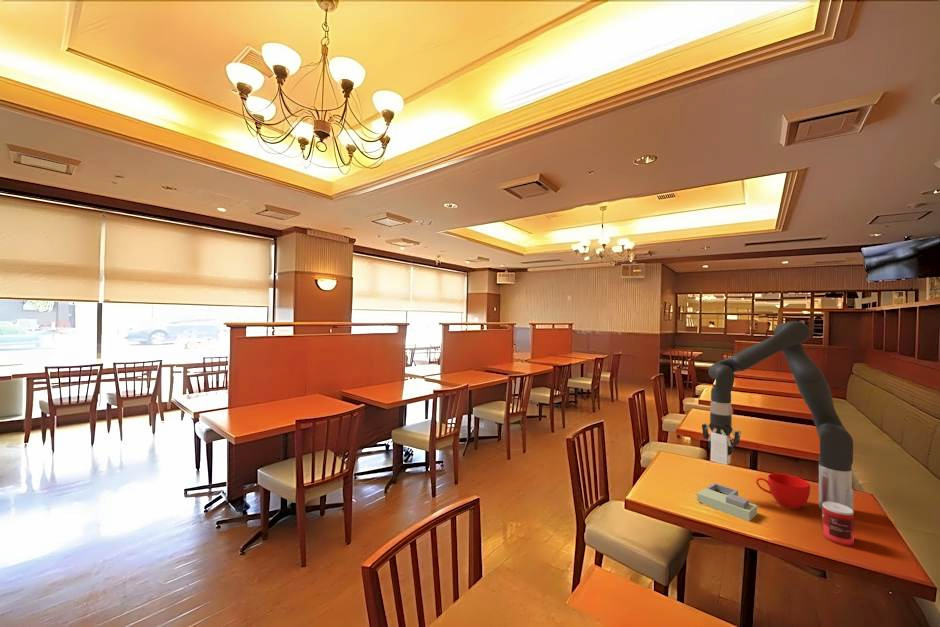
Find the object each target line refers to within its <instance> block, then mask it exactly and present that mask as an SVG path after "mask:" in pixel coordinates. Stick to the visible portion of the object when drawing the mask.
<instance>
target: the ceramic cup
mask: <svg viewBox="0 0 940 627" xmlns="http://www.w3.org/2000/svg"><path fill="white" fill-rule="evenodd" d="M759 481H763V482H765V483H766V484H767V485H768V488H769V490H768V489H765V488H764V487H762V486H761V485H760V484H759ZM755 482H756V485H757V487H758V488H759V489H760V490H762V491H764V492H765V493H768V494H770V495H771V496H772V497H773V498H774V500H775V501H776V502H777V503H778V505H779V506H782V507H784V508H787V509H791V510H798V509H800V508H802V507H803V506H804V505H805V504H806V503H807V502H808V500H809V498H810V494H811V484H810V483H809V482H808V481H807V480H806V479H803V478H800V477H798V476H795V475H790V474H785V473H779V472H778V473H776V472H773V473H770V474H768V475H767V479H766V478H764V477H757V479H756V480H755Z"/></svg>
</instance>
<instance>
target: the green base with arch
mask: <svg viewBox="0 0 940 627" xmlns="http://www.w3.org/2000/svg"><path fill="white" fill-rule="evenodd" d="M715 490H717V491H719V492H717V491H715ZM720 492H722V493H720ZM723 493H724V494H723ZM726 494H727V495H726ZM697 501H698V502H701V503H703V504H702V505H704V504H705V505H704V506H706V505H708V506H707V507H709V506H710V507H709V508H712V507H713V508H712V509H714V510H717V509H718V510H717V511H720V512H723V513H725V514H728V515H731V516H734V517H736V518H739V519H742V520H745V521H746V522H751V521H752V520H753V519H754V518H755V517H756V516H757V515H758V505H757V504H754V503H751V502H750V500H749V499H748V498H746V497H742V496H739V490H737V489H734V488H731V487H728V486H725V485H722V484H720V483H717V482H714V483H711V484H710V485H708V486H707V487H705V488H703V489H702V490H700V491H699V492H697V493H696V502H697ZM698 502H697V503H698ZM701 503H700V504H701Z"/></svg>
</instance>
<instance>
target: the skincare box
mask: <svg viewBox="0 0 940 627" xmlns="http://www.w3.org/2000/svg"><path fill="white" fill-rule="evenodd" d="M710 434H711V450H710V461H711V462H714V463H717V464H721V465H725V466H728V465H729V464H731V455H728V446H729V445H728V441H727V437H728V438H729V437H730V436H731V434H730V435H728V436H724V435H721V434H717V433H712V432H710Z"/></svg>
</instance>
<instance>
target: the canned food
mask: <svg viewBox="0 0 940 627" xmlns="http://www.w3.org/2000/svg"><path fill="white" fill-rule="evenodd" d="M821 520H822V521H821V524H822V525H821V526H822V527H821V529H822V530H821V532H822V535H823V537H824V538H825V539H826V540H827V541H830V542H831V543H834V544H836V545H840V546H844V547H850V546H853V545H854V542H855V540H854V538H855V514H854V509H853V510H852V509H851V508H849V507H847V506H845V505H842V504H839V503H835V502H823V504H822V510H821Z"/></svg>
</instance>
